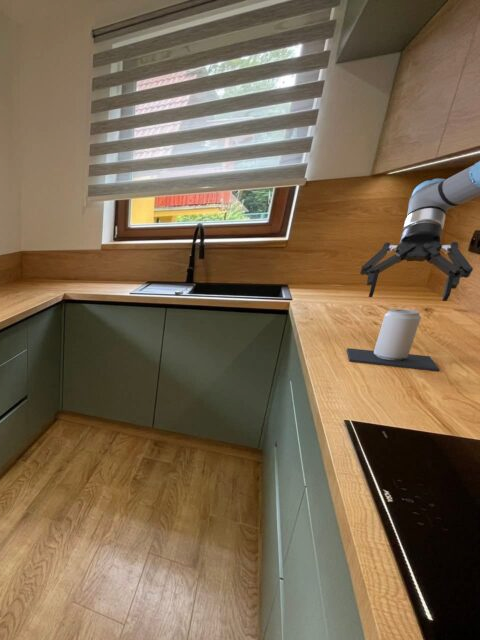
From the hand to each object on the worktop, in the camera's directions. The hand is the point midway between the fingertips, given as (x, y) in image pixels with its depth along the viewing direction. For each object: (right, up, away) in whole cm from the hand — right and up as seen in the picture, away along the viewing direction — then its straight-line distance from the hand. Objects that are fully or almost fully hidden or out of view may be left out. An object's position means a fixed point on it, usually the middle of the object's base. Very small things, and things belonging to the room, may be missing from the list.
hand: (407, 295), depth 109 cm
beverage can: (-5, -16, 0) cm, 17 cm away
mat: (-5, -16, 0) cm, 17 cm away
